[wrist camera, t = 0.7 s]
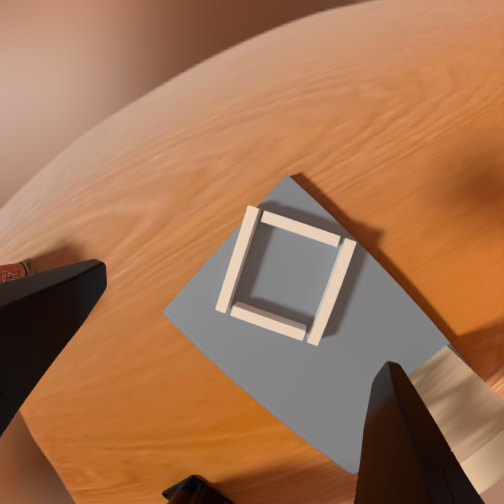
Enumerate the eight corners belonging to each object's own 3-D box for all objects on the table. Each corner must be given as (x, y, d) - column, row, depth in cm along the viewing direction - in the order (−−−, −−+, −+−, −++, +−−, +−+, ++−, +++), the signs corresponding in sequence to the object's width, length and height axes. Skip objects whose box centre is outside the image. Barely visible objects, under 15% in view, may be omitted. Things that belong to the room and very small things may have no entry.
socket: (316, 339, 24) (317, 345, 23) (220, 304, 25) (215, 309, 24) (353, 240, 23) (356, 242, 22) (251, 206, 24) (248, 205, 23)
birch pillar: (424, 411, 23) (471, 499, 11) (402, 379, 23) (451, 469, 12) (465, 379, 22) (530, 454, 11) (446, 345, 23) (518, 416, 11)
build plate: (352, 468, 26) (352, 475, 25) (166, 309, 27) (161, 312, 26) (471, 369, 23) (475, 373, 22) (287, 176, 25) (287, 174, 24)
